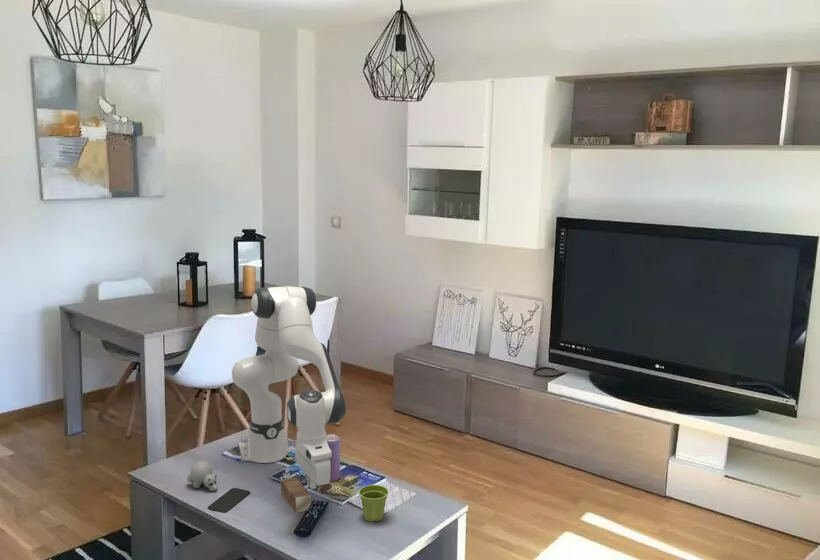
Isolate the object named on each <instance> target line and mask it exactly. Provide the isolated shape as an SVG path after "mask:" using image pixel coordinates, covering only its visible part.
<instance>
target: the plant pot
mask: <svg viewBox="0 0 820 560" xmlns="http://www.w3.org/2000/svg"><path fill="white" fill-rule="evenodd" d="M389 492H390V490H389V489H388V488H387V487H385V486H384V485H380V484H368V485H365V486H362V487H360V488H359V490H358V496H359V498H360V500H361V507H362V514H363V518H364V520H365V521H368V522H372V523H373V522H376V521H377V522H380V521H381V520H382V519H384V514H385V508H386V507H385V506H386V501H387V498H388V496H389Z"/></svg>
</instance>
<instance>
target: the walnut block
mask: <svg viewBox="0 0 820 560" xmlns="http://www.w3.org/2000/svg"><path fill="white" fill-rule="evenodd" d="M280 481H281V482H280V483H281V484H280V485H281V492H280V493H281V495H282V497H283V498H284V499H285V501H286V502H287V503H288V504H289V506H290V507H291V508H292V509H293V511H294V512H295V514H297V513H302V512H305V510H306V509H307V508H308V507H309V506H310V505H311V506H312V495H311V493H310V491H308V490H307V489H306V487H305V486H304V485H303V484H302V483H301V481H300V480H299V479H298V478H297V477H296V476H294V477H290V478H285V479H281V480H280ZM306 511H307V510H306Z"/></svg>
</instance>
